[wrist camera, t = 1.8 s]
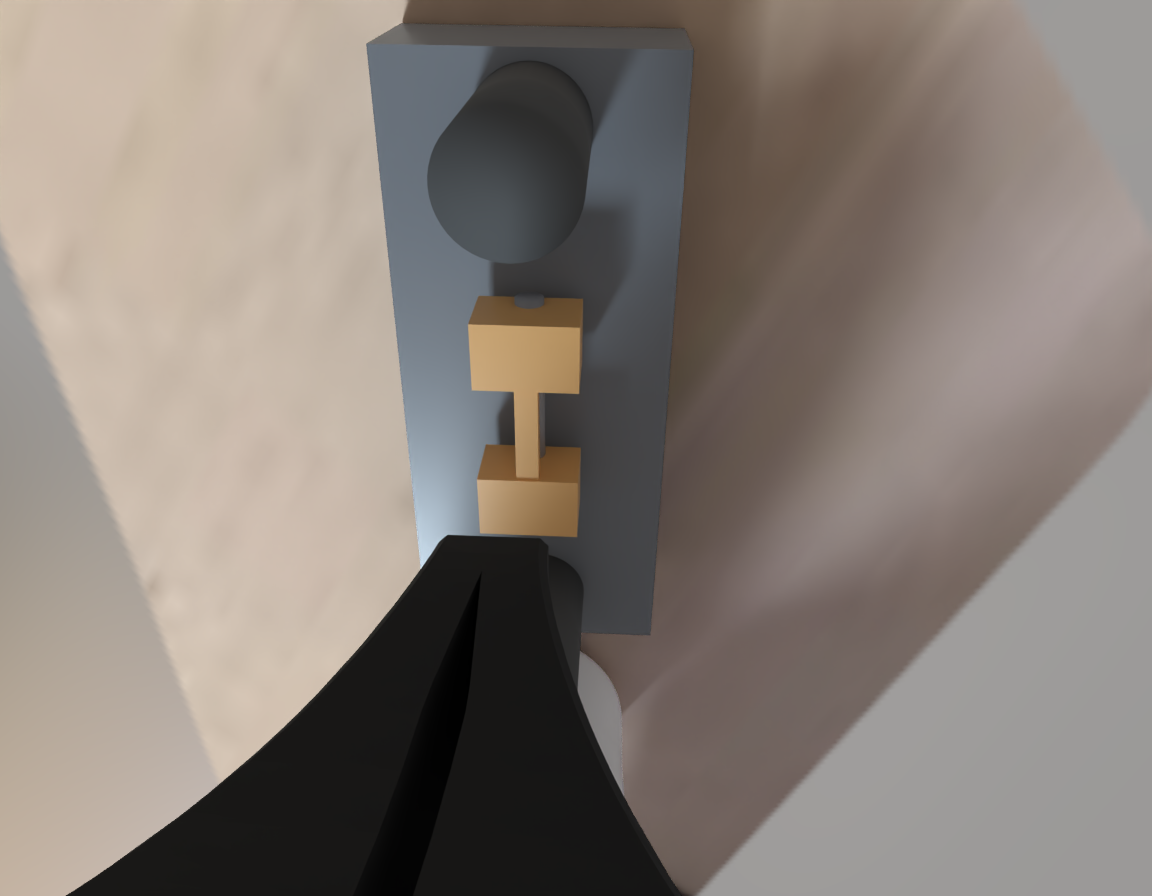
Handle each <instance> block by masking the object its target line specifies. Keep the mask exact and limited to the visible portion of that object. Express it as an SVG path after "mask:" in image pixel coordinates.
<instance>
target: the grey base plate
mask: <svg viewBox="0 0 1152 896" xmlns="http://www.w3.org/2000/svg"><path fill="white" fill-rule="evenodd" d="M366 45H367V55H368V65H369V74H370V84H371V94H372V103H373V113H374V122H375V132H376V142H377V151H378V161H379V171H380V180H381V190H382V199H383V209H384V219H385V228H386V238H387V247H388V257H389V267H390V276H391V286H392V296H393V305H394V315H395V324H396V334H397V344H398V353H399V363H400V373H401V382H402V392H403V401H404V411H405V421H406V430H407V440H408V449H409V459H410V469H411V478H412V488H413V498H414V507H415V517H416V526H417V536H418V546H419V555H420V565H421V568H422V567H423V565H424V564H425V562H426V561H427V559H428V558H429V556H430V555H431V553H432V552H433V550H434V549H435V547H436V546H437V544H438V543H439V541H441V540H442V539H443V538H444V537H445V536H447V535H468V536H494V537H520V538H540V539H542V540H543V541H544V542H545V543H546V544H547V545H548V546H549V555H551V556H554V557H557V558H559V559H561V560H563V561H565V562H567V563H568V564H569V565H571V566H572V567H573V568H574V569H575V570H576V572H577V573H578V574H579V576H580V578H581V580H582V582H583V587H584V596H583V612H582V628H581V633H605V634H629V635H650V632H651V619H652V605H653V592H654V579H655V565H656V552H657V538H658V525H659V511H660V498H661V485H662V471H663V458H664V444H665V431H666V417H667V404H668V390H669V377H670V364H671V350H672V337H673V323H674V310H675V296H676V283H677V270H678V256H679V243H680V229H681V216H682V202H683V189H684V175H685V162H686V149H687V135H688V122H689V108H690V95H691V81H692V68H693V55H694V49H693V47H692V44H691V42H690V40H689V37H688V35H687V33H686V30H685V29H684V28H629V27H574V26H519V25H464V24H409V23H401V24H399V25H398V26H396V27H394V28H392V29H391V30H389V31H387V32H386V33H384V34H382V35H380V36H379V37H377V38H375V39H374V40H372V41H370V42H368V43H367V44H366ZM518 61H539V62H543V63H547V64H549V65H552V66H554V67H556V68H558V69H560V70H562V71H563V72H565V73H566V74H567V75H569V76H570V77H571V78H572V79H573V80H574V81H575V82H576V83H577V85H578V86H579V87H580V88H581V90H582V92H583V93H584V95H585V97H586V99H587V101H588V103H589V106H590V109H591V113H592V119H593V138H592V147H591V155H590V163H589V171H588V179H587V188H586V196H585V202H584V207H583V210H582V213H581V216H580V219H579V221H578V223H577V225H576V227H575V228H574V230H573V231H572V233H571V234H570V236H569V237H568V238H567V239H566V240H565V241H564V242H563V243H562V244H561V245H560V246H559V247H557V248H556V249H555V250H553V251H552V252H550V253H549V254H547V255H545V256H543V257H541V258H538V259H535V260H532V261H529V262H523V263H513V264H507V263H498V262H493V261H489V260H486V259H483V258H480V257H478V256H476V255H474V254H471V253H470V252H468V251H467V250H465V249H464V248H462V247H461V246H460V245H458V244H457V243H456V242H455V241H454V240H453V239H452V238H451V237H450V236H449V235H448V234H447V233H446V231H445V230H444V229H443V227H442V226H441V224H440V223H439V221H438V219H437V217H436V216H435V213H434V211H433V208H432V206H431V202H430V199H429V194H428V187H427V173H428V164H429V160H430V156H431V153H432V151H433V148H434V146H435V144H436V142H437V140H438V139H439V137H440V135H441V134H442V133H443V132H444V130H445V129H446V128H447V126H448V125H449V124H450V123H451V121H452V120H453V119H454V118H455V116H456V115H457V114H458V113H459V111H460V110H461V109H462V108H463V106H464V105H465V104H466V102H467V101H468V100H469V99H470V97H471V96H472V95H473V94H474V92H475V91H476V90H477V89H478V87H479V86H480V85H481V84H482V82H483V81H484V80H485V79H486V78H487V77H488V76H489V75H490V74H491V73H493V72H494V71H496V70H497V69H499V68H501V67H503V66H505V65H507V64H510V63H514V62H518ZM522 292H537V293H540V294H542V295H543V296H544V298H574V299H583V338H582V368H581V379H580V390H579V394H566V393H545V446H550V447H578V448H581V462H580V505H579V518H578V531H577V537H563V536H536V535H510V534H484V533H480V525H479V507H478V490H477V477H478V473H479V469H480V465H481V462H482V458H483V454H484V450H485V446H486V444H492V445H515V417H514V392H505V391H474V390H472V386H471V368H470V351H469V333H468V323H469V320H470V318H471V315H472V312H473V309H474V307H475V304H476V301H477V298H478V296H505V297H515V295H517V294H519V293H522Z"/></svg>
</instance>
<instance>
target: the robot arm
mask: <svg viewBox="0 0 1152 896" xmlns="http://www.w3.org/2000/svg"><path fill="white" fill-rule="evenodd" d="M66 896H682V895H681V894H680V892H679V891H678V889H677V888H676V886H675V884H674V883H673V881H672V880H671V878H670V877H669V875H668V873H667V872H666V870H665V868H664V866H663V865H662V863H661V861H660V860H659V858H658V856H657V854H656V853H655V851H654V849H653V847H652V846H651V844H650V842H649V841H648V839H647V837H646V835H645V834H644V832H643V830H642V828H641V827H640V825H639V823H638V822H637V820H636V818H635V816H634V815H633V813H632V811H631V809H630V807H629V805H628V803H627V801H626V799H625V797H624V796H623V794H622V792H621V790H620V788H619V786H618V784H617V782H616V780H615V778H614V776H613V774H612V772H611V770H610V767H609V765H608V763H607V761H606V759H605V757H604V754H603V752H602V750H601V748H600V746H599V744H598V741H597V739H596V737H595V734H594V732H593V730H592V727H591V725H590V722H589V720H588V717H587V715H586V712H585V710H584V707H583V704H582V702H581V699H580V696H579V694H578V691H577V688H576V686H575V683H574V680H573V677H572V674H571V671H570V668H569V665H568V662H567V659H566V655H565V652H564V648H563V645H562V641H561V638H560V634H559V631H558V627H557V623H556V619H555V615H554V610H553V605H552V600H551V594H550V589H549V546H548V545H547V544H546V543H545V542H544V541H543V540H542V539H540V538H520V537H494V536H468V535H447V536H445V537H444V538H443V539H442V540H441V541H439V543H438V544H437V546H436V547H435V549H434V550H433V552H432V553H431V555H430V556H429V558H428V559H427V561H426V562H425V564H424V565H423V567H422V568H421V569H420V571H419V572H418V574H417V575H416V576H415V578H414V579H413V581H412V582H411V583H410V585H409V586H408V587H407V589H406V590H405V591H404V593H403V594H402V595H401V597H400V598H399V599H398V601H397V602H396V603H395V605H394V606H393V607H392V608H391V610H390V611H389V612H388V613H387V614H386V616H385V617H384V618H383V619H382V621H381V622H380V623H379V624H378V626H377V627H376V628H375V629H374V631H373V632H372V633H371V634H370V635H369V637H368V638H367V639H366V640H365V642H364V643H363V644H362V645H361V646H360V647H359V649H358V650H357V651H356V652H355V653H354V654H353V655H352V656H351V658H350V659H349V660H348V661H347V662H346V663H345V664H344V665H343V666H342V667H341V669H340V670H339V671H338V672H337V673H336V674H335V675H334V676H333V677H332V678H331V680H330V681H329V682H328V683H327V684H326V685H325V686H324V687H323V688H322V689H321V691H320V692H319V693H318V694H317V695H316V696H315V697H314V698H313V699H312V700H311V701H310V702H309V703H308V704H307V705H306V706H305V707H304V708H303V709H302V710H301V711H300V712H299V713H298V714H297V715H296V716H295V717H294V718H293V719H292V720H291V721H290V722H289V723H288V724H287V725H286V726H285V727H284V728H283V729H281V730H280V731H279V732H278V733H277V734H276V735H275V736H274V737H273V738H272V739H271V740H270V741H269V742H267V743H266V744H265V745H264V746H263V747H262V748H261V749H260V750H259V751H258V752H257V753H255V754H254V755H253V756H252V757H251V758H250V759H248V760H247V761H246V762H245V763H244V764H243V765H241V766H240V767H239V768H238V769H237V770H236V771H234V772H233V773H232V774H231V775H230V776H228V777H227V778H226V779H225V780H224V781H223V782H221V783H220V784H219V785H218V786H217V787H215V788H214V789H213V790H212V791H211V792H210V793H209V794H207V795H206V796H205V797H203V798H202V799H201V800H200V801H199V802H197V803H196V804H195V805H193V806H192V807H191V808H190V809H188V810H187V811H186V812H184V813H183V814H182V815H180V816H179V817H178V818H177V819H175V820H174V821H172V822H171V823H170V824H168V825H167V826H165V827H164V828H163V829H161V830H160V831H159V832H157V833H156V834H154V835H153V836H152V837H150V838H149V839H147V840H146V841H145V842H143V843H142V844H141V845H139V846H138V847H136V848H135V849H134V850H132V851H131V852H129V853H128V854H127V855H125V856H124V857H123V858H121V859H120V860H118V861H117V862H116V863H114V864H113V865H112V866H110V867H109V868H107V869H106V870H104V871H103V872H101V873H100V874H98V875H97V876H96V877H94V878H93V879H91V880H90V881H88V882H86V883H85V884H83V885H82V886H81V887H79V888H77V889H76V890H75V891H73V892H71V893H69V894H68V895H66Z"/></svg>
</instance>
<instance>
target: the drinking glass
mask: <svg viewBox="0 0 1152 896" xmlns="http://www.w3.org/2000/svg"><path fill="white" fill-rule="evenodd" d="M578 694H579V696H580V699H581V702H582V704H583V707H584V710H585V712H586V715H587V717H588V720H589V722H590V725H591V727H592V730H593V732H594V734H595V737H596V739H597V741H598V744H599V746H600V748H601V750H602V752H603V754H604V757H605V759H606V761H607V763H608V765H609V767H610V770H611V772H612V774H613V776H614V778H615V780H616V782H617V784H618V786H619V788H620V790H621V792H622V794H623V796H624V797H625V795H624V783H623V770H622V713H621V705H620V701H619V697H618V695H617V692H616V689H615V687H614V685H613V684H612V682H611V680H610V678H609V677H608V676H607V674H606V673H605V672H604V671H603V669H602V668H601V667H600V666H599V665H598V664H597V663H596V662H595V661H594V660H592V659H591V658H590V657H588V656H587V655H586V654H584V653H582V652H581V651H580V659H579V675H578Z"/></svg>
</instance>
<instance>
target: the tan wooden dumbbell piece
mask: <svg viewBox="0 0 1152 896" xmlns="http://www.w3.org/2000/svg"><path fill="white" fill-rule="evenodd" d="M468 333H469V351H470V368H471V386H472V390H474V391H505V392H514V417H515V445H492V444H486V446H485V450H484V454H483V458H482V462H481V465H480V469H479V473H478V477H477V490H478V507H479V525H480V533H484V534H510V535H536V536H563V537H577V531H578V518H579V505H580V462H581V448H578V447H550V446H545V393H566V394H579V390H580V379H581V368H582V338H583V299H574V298H544V296H543V295H542V294H540V293H537V292H522V293H519V294H517V295H515V297H505V296H478V298H477V301H476V304H475V307H474V309H473V312H472V315H471V318H470V320H469V323H468Z"/></svg>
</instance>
